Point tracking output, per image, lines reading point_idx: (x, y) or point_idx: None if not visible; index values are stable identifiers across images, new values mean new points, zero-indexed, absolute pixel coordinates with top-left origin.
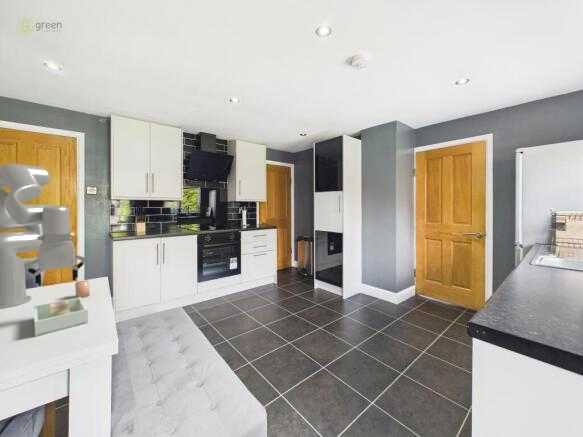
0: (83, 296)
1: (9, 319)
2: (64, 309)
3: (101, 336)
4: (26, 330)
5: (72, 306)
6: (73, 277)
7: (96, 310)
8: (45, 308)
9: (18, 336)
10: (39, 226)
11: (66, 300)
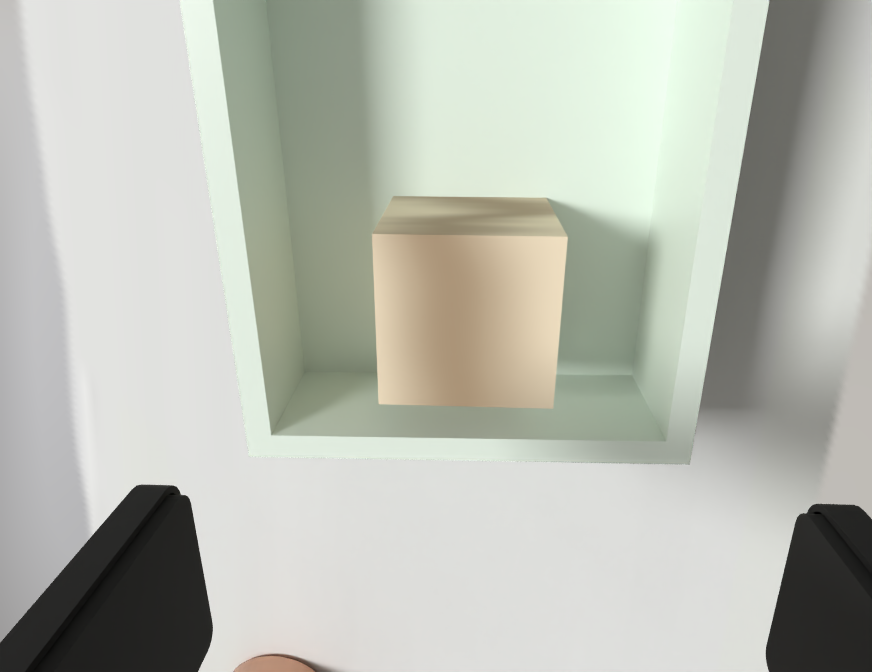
0: (269, 667)
1: (784, 540)
2: (425, 217)
3: None
4: None
5: (352, 391)
6: (144, 543)
7: (158, 229)
8: (583, 416)
9: (826, 2)
10: None
11: (391, 395)
